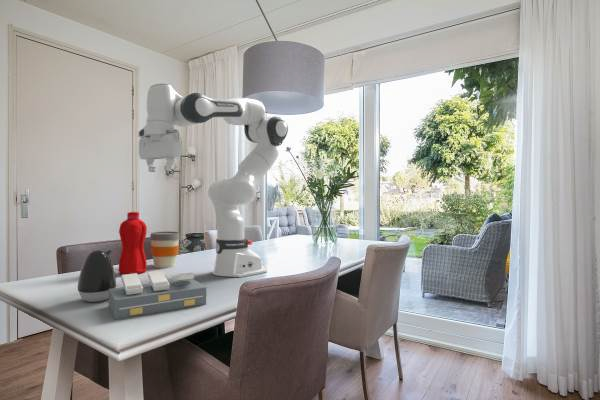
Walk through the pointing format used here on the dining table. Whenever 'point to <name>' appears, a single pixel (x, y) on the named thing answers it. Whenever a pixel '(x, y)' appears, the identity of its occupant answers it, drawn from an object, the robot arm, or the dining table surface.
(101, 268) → the black rounded dome
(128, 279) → the rocker
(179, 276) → the rocker
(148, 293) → the console
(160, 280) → the block
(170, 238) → the reusable coffee cup
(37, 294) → the dining table surface
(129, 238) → the water bottle
